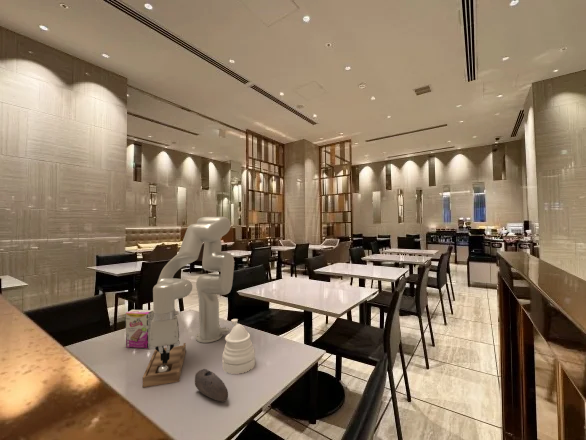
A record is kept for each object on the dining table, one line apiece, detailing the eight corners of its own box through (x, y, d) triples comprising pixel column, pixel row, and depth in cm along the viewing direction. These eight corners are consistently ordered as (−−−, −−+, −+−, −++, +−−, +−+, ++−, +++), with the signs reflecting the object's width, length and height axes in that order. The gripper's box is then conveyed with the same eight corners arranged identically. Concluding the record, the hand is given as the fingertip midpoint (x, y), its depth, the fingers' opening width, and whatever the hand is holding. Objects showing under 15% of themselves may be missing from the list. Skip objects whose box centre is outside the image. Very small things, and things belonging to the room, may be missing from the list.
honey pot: (215, 369, 109) (214, 323, 109) (236, 354, 121) (235, 313, 120) (241, 377, 103) (240, 329, 103) (261, 361, 115) (260, 318, 114)
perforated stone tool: (233, 401, 90) (233, 380, 90) (220, 410, 86) (219, 388, 86) (206, 384, 100) (206, 365, 100) (193, 391, 96) (193, 371, 95)
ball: (169, 373, 107) (169, 362, 107) (168, 378, 103) (168, 367, 103) (158, 374, 106) (158, 364, 106) (156, 379, 102) (156, 368, 102)
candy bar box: (125, 348, 127) (124, 312, 127) (132, 343, 132) (131, 309, 132) (148, 349, 126) (147, 313, 126) (154, 344, 131) (154, 309, 131)
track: (156, 354, 121) (156, 346, 121) (185, 350, 124) (185, 342, 124) (142, 387, 98) (142, 377, 98) (179, 381, 101) (178, 372, 101)
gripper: (185, 310, 113) (186, 354, 114) (145, 314, 109) (146, 360, 110) (183, 316, 106) (184, 363, 107) (140, 321, 102) (141, 370, 103)
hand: (165, 361), depth 108 cm, fingers closed
